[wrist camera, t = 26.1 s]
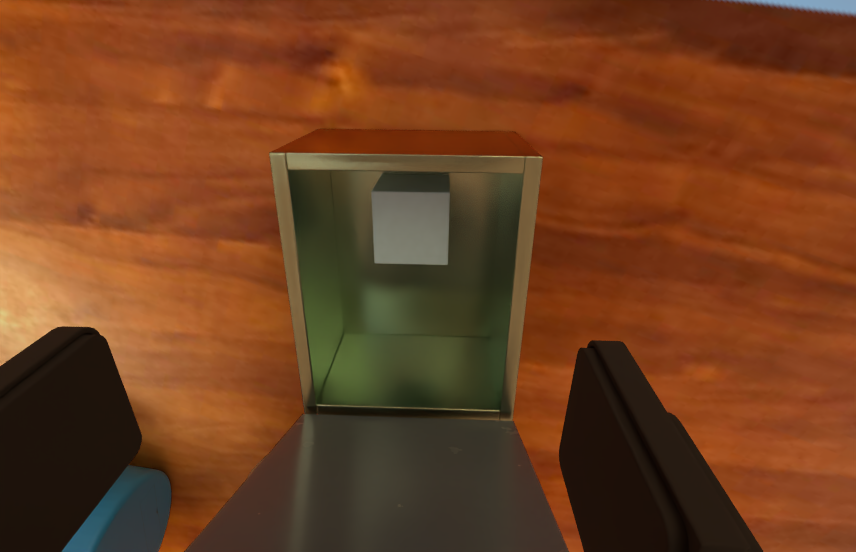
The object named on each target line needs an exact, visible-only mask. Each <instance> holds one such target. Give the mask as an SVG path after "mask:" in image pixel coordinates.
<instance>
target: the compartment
mask: <svg viewBox="0 0 856 552" xmlns="http://www.w3.org/2000/svg"><path fill="white" fill-rule="evenodd" d="M269 157H270V164H271V171H272V179H273V186H274V193H275V200H276V208H277V215H278V222H279V230H280V237H281V244H282V251H283V259H284V266H285V273H286V281H287V288H288V295H289V302H290V310H291V317H292V324H293V332H294V339H295V346H296V353H297V361H298V368H299V375H300V383H301V390H302V397H303V404H304V412H305V414H317V413H318V415H348V416H378V417H408V418H438V419H468V420H499V421H513V412H514V404H515V395H516V386H517V378H518V369H519V360H520V352H521V343H522V334H523V326H524V317H525V308H526V300H527V291H528V282H529V274H530V265H531V256H532V248H533V239H534V230H535V222H536V213H537V204H538V196H539V187H540V178H541V170H542V161H543V157H542V156H541V155H540V154H539V153H538V152H537V151H536V150H535V149H534V148H533V147H532V146H530V145H529V144H528V143H527V142H526V141H525V140H524V139H523V138H522V137H521V136H520V135H519V134H518V133H516V132H506V131H437V130H367V129H317V130H315V131H313V132H311V133H309V134H307V135H305V136H303V137H301V138H299V139H296V140H294V141H292V142H290V143H288V144H286V145H284V146H282V147H280V148H278V149H276V150H274V151H272V152H270V153H269ZM382 174H393V175H449V176H450V212H449V245H448V265H425V264H382V263H374V244H373V221H372V199H371V191H372V190H373V188H374V186H375V185H376V183H377V181H378V180H379V178H380V176H381V175H382Z"/></svg>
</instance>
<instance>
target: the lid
mask: <svg viewBox="0 0 856 552" xmlns="http://www.w3.org/2000/svg"><path fill="white" fill-rule="evenodd" d="M184 552H569V551H568V548H567V546H566V544H565V541H564V539H563V536H562V534H561V532H560V529H559V527H558V525H557V522H556V520H555V518H554V515H553V513H552V511H551V508H550V506H549V503H548V501H547V499H546V496H545V494H544V492H543V489H542V487H541V485H540V482H539V480H538V478H537V475H536V473H535V471H534V468H533V466H532V463H531V461H530V459H529V456H528V454H527V452H526V449H525V447H524V445H523V442H522V440H521V438H520V435H519V433H518V430H517V428H516V426H515V423H514V421H499V420H468V419H438V418H408V417H378V416H348V415H318V414H302V415H301V416H300V418H299V419H298V420H297V421H296V422H295V423H294V425H293V426H292V427H291V428H290V429H289V430H288V431H287V433H286V434H285V435H284V436H283V437H282V438H281V440H280V441H279V442H278V443H277V444H276V445H275V447H274V448H273V449H272V450H271V451H270V452H269V454H268V455H267V456H266V457H265V458H264V459H263V461H262V462H261V463H260V464H259V465H258V466H257V468H256V469H255V470H254V471H253V472H252V473H251V475H250V476H249V477H248V478H247V479H246V480H245V482H244V483H243V484H242V485H241V486H240V487H239V489H238V490H237V491H236V492H235V493H234V494H233V496H232V497H231V498H230V499H229V500H228V501H227V503H226V504H225V505H224V506H223V507H222V508H221V510H220V511H219V512H218V513H217V514H216V515H215V517H214V518H213V519H212V520H211V521H210V522H209V524H208V525H207V526H206V527H205V528H204V529H203V530H202V532H201V533H200V534H199V535H198V536H197V537H196V539H195V540H194V541H193V542H192V543H191V544H190V546H189V547H188V548H187V549H186V550H185V551H184Z"/></svg>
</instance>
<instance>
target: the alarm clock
mask: <svg viewBox="0 0 856 552" xmlns="http://www.w3.org/2000/svg"><path fill="white" fill-rule="evenodd" d="M170 507H171V485H170V481H169V479H168V477H167V475H166V474H165V473H164V472H162V471H160V470H156V469H150V468H144V467H138V466H132V465H128V466H127V467H126V469H125V470H124V471H123V472H122V474H121V475H120V476H119V478H118V479H117V480H116V482H115V483H114V484H113V485H112V487H111V488H110V489H109V491H108V492H107V493H106V494H105V496H104V497H103V498H102V500H101V501H100V502H99V504H98V505H97V506H96V507H95V509H94V510H93V511H92V513H91V514H90V515H89V517H88V518H87V519H86V520H85V522H84V523H83V524H82V526H81V527H80V528H79V530H78V531H77V532H76V533H75V535H74V536H73V537H72V539H71V540H70V541H69V543H68V544H67V545H66V546H65V548H64V549H63V550H62V552H158V551H159V549H160V546H161V543H162V540H163V537H164V534H165V530H166V527H167V523H168V518H169V513H170Z"/></svg>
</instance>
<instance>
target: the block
mask: <svg viewBox="0 0 856 552" xmlns="http://www.w3.org/2000/svg"><path fill="white" fill-rule="evenodd" d="M371 199H372V221H373V244H374V263H382V264H425V265H448V245H449V212H450V176H449V175H393V174H382V175H381V176H380V178H379V180H378V181H377V183H376V185H375V186H374V188H373V190H372V191H371Z"/></svg>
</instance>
